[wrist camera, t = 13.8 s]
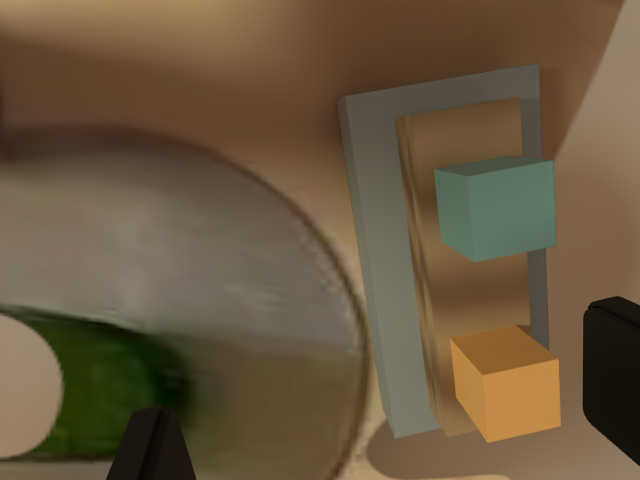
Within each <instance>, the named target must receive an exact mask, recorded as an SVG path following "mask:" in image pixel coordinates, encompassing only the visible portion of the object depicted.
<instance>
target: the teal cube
mask: <svg viewBox="0 0 640 480" xmlns="http://www.w3.org/2000/svg"><path fill="white" fill-rule="evenodd" d="M434 175H435V185H436V195H437V205H438V215H439V225H440V234H441V242H443V243H444V244H446V245H448V246H449V247H451V248H452V249H454V250H455V251H457V252H459V253H460V254H462V255H463V256H465V257H467V258H468V259H470V260H471V261H473V262H479V261H484V260H489V259H493V258H498V257H503V256H508V255H513V254H518V253H523V252H528V251H533V250H538V249H543V248H548V247H553V246H556V228H555V227H556V226H555V195H554V194H555V193H554V160H545V159H535V158H524V157H513V156H502V157H497V158H492V159H486V160H481V161H476V162H470V163H465V164H459V165H454V166H449V167H443V168H438V169H434Z"/></svg>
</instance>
